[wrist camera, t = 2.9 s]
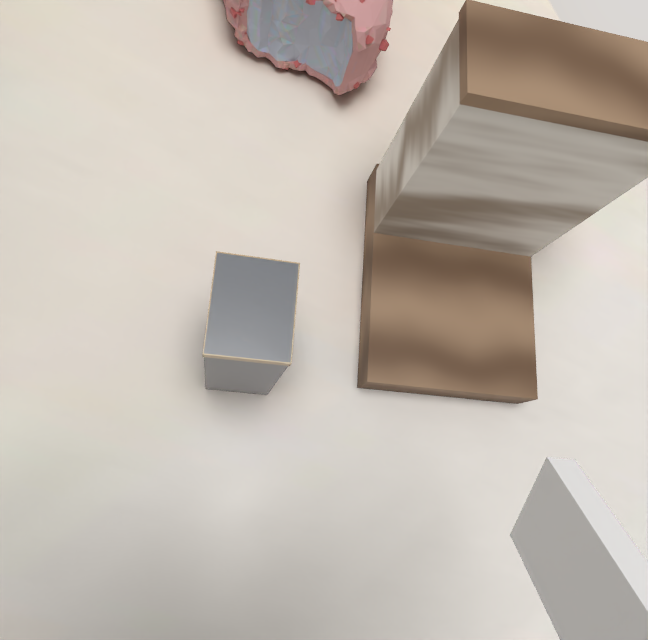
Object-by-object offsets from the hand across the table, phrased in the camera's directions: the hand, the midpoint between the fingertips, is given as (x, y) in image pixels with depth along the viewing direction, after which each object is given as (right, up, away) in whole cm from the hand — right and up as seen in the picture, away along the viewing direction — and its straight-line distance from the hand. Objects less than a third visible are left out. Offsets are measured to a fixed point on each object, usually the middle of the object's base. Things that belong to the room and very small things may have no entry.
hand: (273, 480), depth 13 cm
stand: (+10, +6, +28) cm, 30 cm away
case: (-4, +1, +24) cm, 24 cm away
